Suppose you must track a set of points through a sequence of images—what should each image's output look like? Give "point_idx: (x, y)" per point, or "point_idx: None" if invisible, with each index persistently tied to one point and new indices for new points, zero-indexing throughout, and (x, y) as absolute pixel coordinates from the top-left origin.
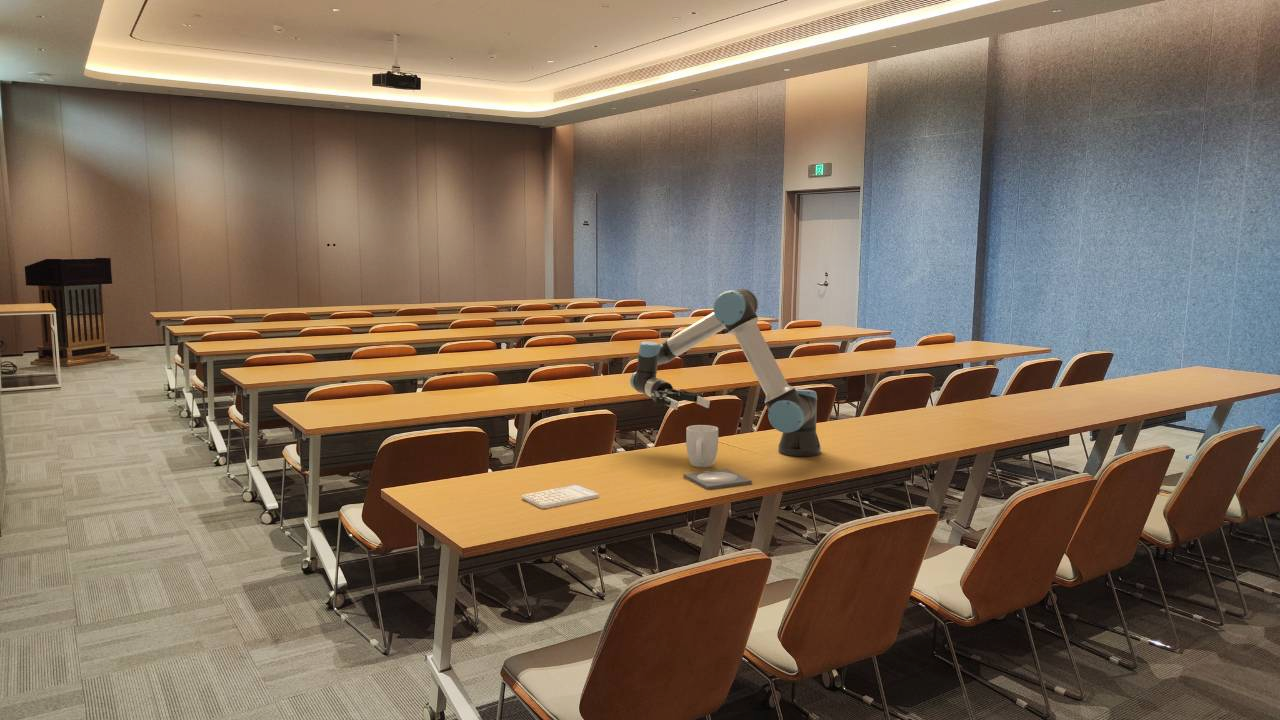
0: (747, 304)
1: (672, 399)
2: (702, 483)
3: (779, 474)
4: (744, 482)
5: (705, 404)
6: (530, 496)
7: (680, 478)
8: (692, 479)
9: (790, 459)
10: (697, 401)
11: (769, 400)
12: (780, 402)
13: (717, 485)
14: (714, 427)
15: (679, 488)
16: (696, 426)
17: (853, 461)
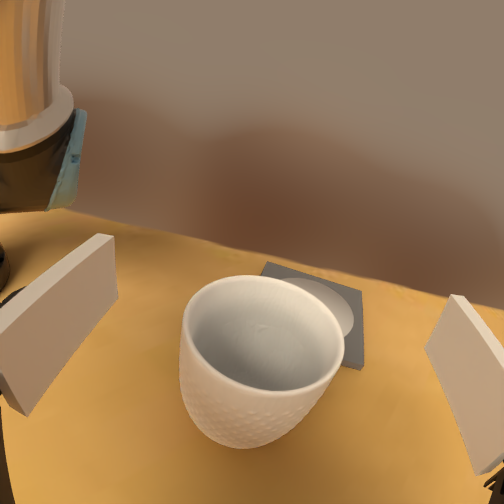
0: None
1: (492, 348)
2: (361, 303)
3: (169, 256)
4: (283, 267)
5: (100, 293)
6: None
7: (371, 368)
8: (362, 333)
9: (36, 275)
10: (25, 388)
11: (64, 122)
12: (86, 115)
13: (340, 285)
14: (192, 307)
15: (400, 326)
16: (239, 383)
17: (24, 213)
